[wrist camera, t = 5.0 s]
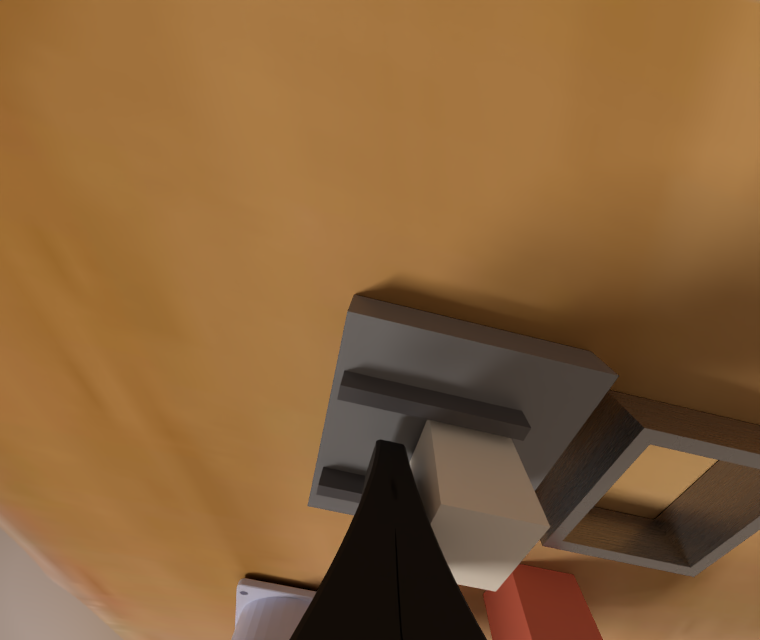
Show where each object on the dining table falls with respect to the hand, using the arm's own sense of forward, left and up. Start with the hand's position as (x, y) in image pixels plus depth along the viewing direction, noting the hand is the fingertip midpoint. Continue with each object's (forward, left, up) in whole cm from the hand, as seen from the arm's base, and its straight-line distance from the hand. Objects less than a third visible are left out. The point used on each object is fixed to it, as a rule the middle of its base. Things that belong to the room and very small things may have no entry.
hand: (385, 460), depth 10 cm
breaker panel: (0, -2, -2) cm, 3 cm away
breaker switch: (0, -3, -1) cm, 3 cm away
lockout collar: (0, -12, -2) cm, 12 cm away
